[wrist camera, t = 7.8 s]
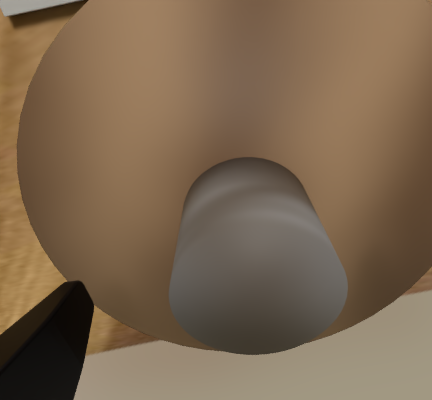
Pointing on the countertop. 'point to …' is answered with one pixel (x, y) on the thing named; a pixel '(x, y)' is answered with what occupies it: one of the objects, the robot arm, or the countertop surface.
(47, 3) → the mat
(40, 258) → the countertop surface
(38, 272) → the countertop surface
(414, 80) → the lid
